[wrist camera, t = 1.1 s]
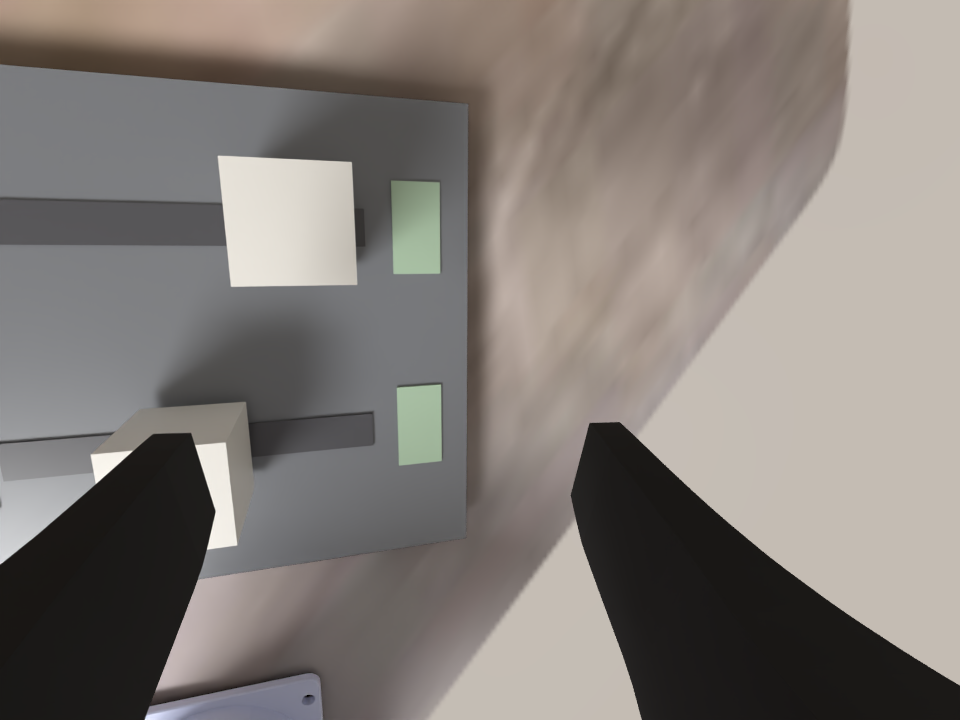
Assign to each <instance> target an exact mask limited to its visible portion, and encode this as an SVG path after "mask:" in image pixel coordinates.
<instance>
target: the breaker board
mask: <svg viewBox="0 0 960 720" xmlns="http://www.w3.org/2000/svg"><path fill="white" fill-rule="evenodd" d="M218 156H237V157H258V158H278V159H299V160H319V161H340V162H352V176H353V198H354V220H355V243H356V265H357V285H319V286H250V287H231V282H230V272H229V262H228V252H227V243H226V233H225V223H224V213H223V203H222V193H221V184H220V174H219V164H218ZM467 270H468V104H465V103H453V102H441V101H429V100H417V99H405V98H393V97H381V96H369V95H358V94H346V93H334V92H322V91H310V90H298V89H286V88H274V87H262V86H250V85H238V84H226V83H214V82H202V81H190V80H178V79H167V78H155V77H143V76H131V75H119V74H107V73H95V72H83V71H71V70H59V69H47V68H35V67H23V66H11V65H0V564H1V563H3V562H4V561H5V560H6V559H8V558H9V557H10V556H11V555H13V554H14V553H15V552H16V551H18V550H19V549H20V548H21V547H23V546H24V545H25V544H26V543H28V542H29V541H30V540H31V539H33V538H34V537H35V536H36V535H37V534H39V533H40V532H41V531H42V530H43V529H44V528H46V527H47V526H48V525H49V524H50V523H51V522H53V521H54V520H55V519H56V518H57V517H58V516H60V515H61V514H62V513H63V512H64V511H65V510H67V509H68V508H69V507H70V506H71V505H72V504H73V503H75V502H76V501H77V500H78V499H79V498H80V497H82V496H83V495H84V494H85V493H86V492H87V491H88V490H90V489H91V488H92V487H93V486H94V485H95V484H96V482H95V477H94V471H93V466H92V460H91V454H92V453H93V452H94V451H95V450H96V449H97V448H98V447H99V446H100V445H101V444H103V443H104V442H105V441H106V440H107V439H108V438H109V437H110V436H111V435H112V434H113V433H115V432H116V431H117V430H118V429H119V428H120V427H121V426H122V425H123V424H124V423H125V422H127V421H128V420H129V419H130V418H131V417H132V416H133V415H134V414H135V413H136V412H137V411H138V410H140V409H149V408H163V407H178V406H192V405H206V404H220V403H234V402H246V407H247V417H248V427H249V437H250V447H251V457H252V466H253V476H254V486H255V487H254V490H253V494H252V497H251V500H250V504H249V507H248V511H247V514H246V517H245V521H244V524H243V528H242V531H241V534H240V538H239V541H238V545H237V546H229V547H222V548H215V549H208V550H207V551H206V555H205V559H204V563H203V567H202V570H201V572H200V575H199V578H198V579H204V578H211V577H217V576H224V575H230V574H237V573H243V572H250V571H256V570H263V569H269V568H276V567H282V566H289V565H295V564H302V563H308V562H315V561H321V560H328V559H334V558H341V557H347V556H354V555H360V554H367V553H373V552H380V551H386V550H393V549H399V548H406V547H412V546H419V545H425V544H432V543H438V542H445V541H451V540H458V539H464V538H466V490H467Z"/></svg>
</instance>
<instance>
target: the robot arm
mask: <svg viewBox="0 0 960 720" xmlns="http://www.w3.org/2000/svg"><path fill="white" fill-rule="evenodd" d="M571 498H572V503H573V508H574V512H575V517H576V521H577V525H578V529H579V533H580V537H581V542H582V545H583V547H584V551H585V554H586V556H587V559H588V562H589V565H590V568H591V571H592V573H593V576H594V579H595V582H596V584H597V587H598V590H599V592H600V595H601V598H602V601H603V603H604V606H605V609H606V611H607V614H608V617H609V620H610V622H611V625H612V628H613V630H614V633H615V636H616V639H617V641H618V643H619V647H620V649H621V652H622V655H623V658H624V660H625V664H626V667H627V670H628V672H629V676H630V679H631V682H632V685H633V688H634V692H635V696H636V700H637V704H638V707H639V711H640V715H641V718H642V720H960V685H958V684H956V683H955V682H953V681H951V680H949V679H948V678H946V677H944V676H943V675H941V674H940V673H938V672H936V671H935V670H933V669H931V668H930V667H928V666H927V665H925V664H923V663H922V662H920V661H918V660H917V659H915V658H914V657H912V656H910V655H909V654H907V653H906V652H904V651H903V650H901V649H899V648H898V647H896V646H895V645H893V644H892V643H890V642H889V641H887V640H886V639H884V638H883V637H881V636H880V635H878V634H877V633H875V632H873V631H872V630H870V629H869V628H867V627H866V626H864V625H863V624H861V623H860V622H858V621H857V620H855V619H854V618H852V617H851V616H849V615H848V614H846V613H845V612H844V611H842V610H841V609H839V608H838V607H836V606H835V605H833V604H832V603H831V602H829V601H828V600H826V599H825V598H824V597H822V596H821V595H820V594H818V593H817V592H815V591H814V590H813V589H811V588H810V587H809V586H807V585H806V584H805V583H803V582H802V581H801V580H799V579H798V578H797V577H795V576H794V575H793V574H791V573H790V572H788V571H787V570H786V569H784V568H783V567H782V566H781V565H779V564H778V563H776V562H775V561H774V560H773V559H771V558H770V557H769V556H768V555H766V554H765V553H764V552H762V551H761V550H760V549H759V548H758V547H757V546H755V545H754V544H753V543H752V542H751V541H749V540H748V539H747V538H746V537H745V536H743V535H742V534H741V533H740V532H739V531H737V530H736V529H735V528H734V527H732V526H731V525H730V524H729V523H728V522H727V521H726V520H724V519H723V518H722V517H721V516H720V515H719V514H718V513H716V512H715V511H714V510H713V509H712V508H711V507H710V506H708V505H707V504H706V503H705V502H704V501H703V500H702V499H701V498H700V497H698V496H697V495H696V494H695V493H694V492H693V491H692V490H691V489H690V488H689V487H687V486H686V485H685V484H684V483H683V482H682V481H681V480H680V479H679V478H678V477H677V476H676V475H675V474H674V473H673V472H672V471H670V470H669V469H668V468H667V467H666V466H665V465H664V464H663V463H662V462H661V461H660V460H659V459H658V458H657V457H656V456H655V455H654V454H653V453H652V452H651V451H650V450H649V449H648V448H646V447H645V446H644V445H643V444H642V443H641V442H640V441H639V440H638V439H637V438H636V437H635V436H634V435H633V434H632V433H631V432H630V431H629V430H628V429H626V428H625V427H624V426H623V425H622V424H621V423H620V422H610V423H590V424H589V428H588V431H587V435H586V439H585V443H584V447H583V450H582V454H581V458H580V462H579V466H578V470H577V473H576V477H575V481H574V485H573V489H572V492H571ZM215 513H216V511H215V507H214V504H213V501H212V498H211V495H210V491H209V488H208V485H207V482H206V479H205V475H204V472H203V469H202V466H201V463H200V459H199V456H198V453H197V450H196V447H195V443H194V440H193V437H192V434H191V433H162V434H152V435H151V436H150V437H149V438H148V439H146V440H145V441H144V442H143V443H142V444H140V445H139V446H138V447H137V448H136V449H135V450H134V451H132V452H131V453H130V454H129V455H128V456H127V457H126V458H125V459H123V460H122V461H121V462H120V463H119V464H118V465H117V466H116V467H114V468H113V469H112V470H111V471H110V472H109V473H108V474H107V475H105V476H104V477H103V478H102V479H101V480H100V481H99V482H98V483H96V484H95V485H94V486H93V487H92V488H91V489H90V490H88V491H87V492H86V493H85V494H84V495H83V496H82V497H80V498H79V499H78V500H77V501H76V502H75V503H73V504H72V505H71V506H70V507H69V508H68V509H67V510H65V511H64V512H63V513H62V514H61V515H60V516H58V517H57V518H56V519H55V520H54V521H53V522H51V523H50V524H49V525H48V526H47V527H46V528H44V529H43V530H42V531H41V532H40V533H39V534H37V535H36V536H35V537H34V538H33V539H31V540H30V541H29V542H28V543H26V544H25V545H24V546H23V547H21V548H20V549H19V550H18V551H16V552H15V553H14V554H13V555H11V556H10V557H9V558H8V559H6V560H5V561H4V562H3V563H1V564H0V720H323V709H322V696H321V683H320V678H319V676H317V675H316V674H313V673H306V674H302V675H297V676H292V677H287V678H283V679H278V680H273V681H268V682H264V683H259V684H254V685H249V686H244V687H240V688H235V689H230V690H225V691H221V692H216V693H211V694H206V695H201V696H197V697H192V698H187V699H182V700H178V701H173V702H168V703H163V704H158V705H154V706H150V703H151V701H152V698H153V695H154V693H155V690H156V688H157V685H158V682H159V680H160V677H161V675H162V672H163V669H164V667H165V664H166V662H167V659H168V656H169V654H170V651H171V649H172V646H173V644H174V641H175V638H176V636H177V633H178V631H179V628H180V625H181V623H182V620H183V618H184V615H185V612H186V610H187V607H188V604H189V602H190V599H191V596H192V594H193V591H194V589H195V586H196V583H197V580H198V578H199V575H200V572H201V570H202V567H203V563H204V559H205V555H206V551H207V547H208V543H209V539H210V535H211V530H212V526H213V522H214V517H215ZM306 695H313V696H311V697H304V696H306Z"/></svg>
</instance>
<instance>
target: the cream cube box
mask: <svg viewBox="0 0 960 720" xmlns="http://www.w3.org/2000/svg"><path fill="white" fill-rule="evenodd" d="M218 164H219V174H220V184H221V193H222V203H223V213H224V223H225V233H226V243H227V252H228V262H229V272H230V282H231V287H250V286H319V285H357V265H356V243H355V220H354V198H353V176H352V162H340V161H319V160H299V159H278V158H258V157H237V156H218Z"/></svg>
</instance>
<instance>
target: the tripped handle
mask: <svg viewBox="0 0 960 720" xmlns="http://www.w3.org/2000/svg"><path fill="white" fill-rule="evenodd" d="M162 433H191V434H192V437H193V440H194V443H195V447H196V450H197V453H198V456H199V459H200V463H201V466H202V469H203V472H204V475H205V479H206V482H207V485H208V488H209V491H210V495H211V498H212V501H213V504H214V507H215V511H216V513H215V517H214V522H213V526H212V530H211V535H210V539H209V543H208V547H207V550H208V549H215V548H222V547H229V546H237V545H238V541H239V538H240V534H241V531H242V528H243V524H244V521H245V517H246V514H247V511H248V507H249V504H250V500H251V497H252V494H253V490H254V487H255V486H254V476H253V466H252V457H251V447H250V437H249V427H248V417H247V407H246V402H234V403H220V404H206V405H192V406H178V407H163V408H149V409H140V410H138V411H137V412H136V413H135V414H134V415H133V416H132V417H131V418H130V419H129V420H128V421H127V422H125V423H124V424H123V425H122V426H121V427H120V428H119V429H118V430H117V431H116V432H115V433H113V434H112V435H111V436H110V437H109V438H108V439H107V440H106V441H105V442H104V443H103V444H101V445H100V446H99V447H98V448H97V449H96V450H95V451H94V452H93V453H92V454H91V460H92V466H93V471H94V477H95V482H96V483H98V482H99V481H100V480H101V479H102V478H103V477H104V476H105V475H107V474H108V473H109V472H110V471H111V470H112V469H113V468H114V467H116V466H117V465H118V464H119V463H120V462H121V461H122V460H123V459H125V458H126V457H127V456H128V455H129V454H130V453H131V452H132V451H134V450H135V449H136V448H137V447H138V446H139V445H140V444H142V443H143V442H144V441H145V440H146V439H148V438H149V437H150V436H151V435H152V434H162Z"/></svg>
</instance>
